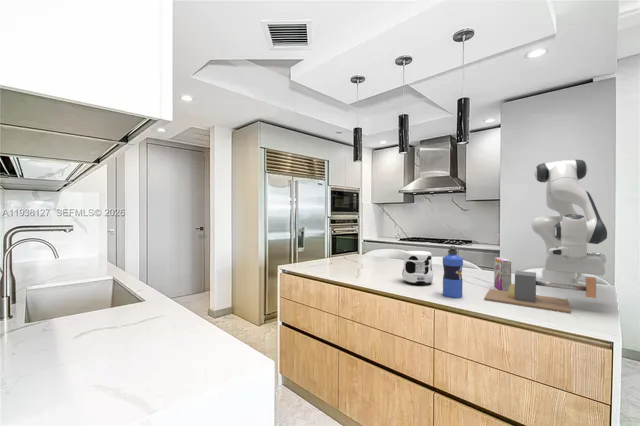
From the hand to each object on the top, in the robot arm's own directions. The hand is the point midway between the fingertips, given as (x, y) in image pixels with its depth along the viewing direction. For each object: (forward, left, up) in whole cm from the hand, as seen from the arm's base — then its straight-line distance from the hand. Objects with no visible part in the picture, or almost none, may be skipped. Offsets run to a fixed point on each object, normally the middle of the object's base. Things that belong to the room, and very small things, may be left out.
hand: (573, 282), depth 133 cm
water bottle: (+11, -47, -11) cm, 50 cm away
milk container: (-5, -70, -11) cm, 72 cm away
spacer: (0, -23, -10) cm, 25 cm away
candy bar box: (-17, -28, -11) cm, 35 cm away
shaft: (0, -5, -5) cm, 7 cm away
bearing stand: (0, -17, -11) cm, 21 cm away
